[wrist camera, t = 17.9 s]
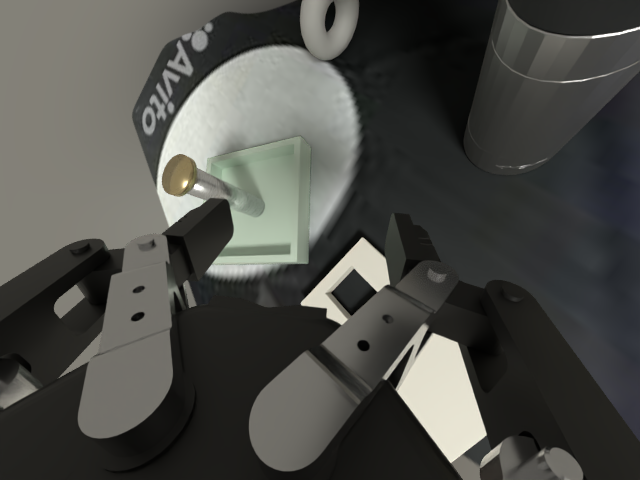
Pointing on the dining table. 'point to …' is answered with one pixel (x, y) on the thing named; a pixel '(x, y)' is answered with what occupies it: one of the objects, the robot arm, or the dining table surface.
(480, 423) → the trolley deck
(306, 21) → the donut
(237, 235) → the tray
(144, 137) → the dining table surface
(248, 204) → the pin
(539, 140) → the robot arm
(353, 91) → the dining table surface
